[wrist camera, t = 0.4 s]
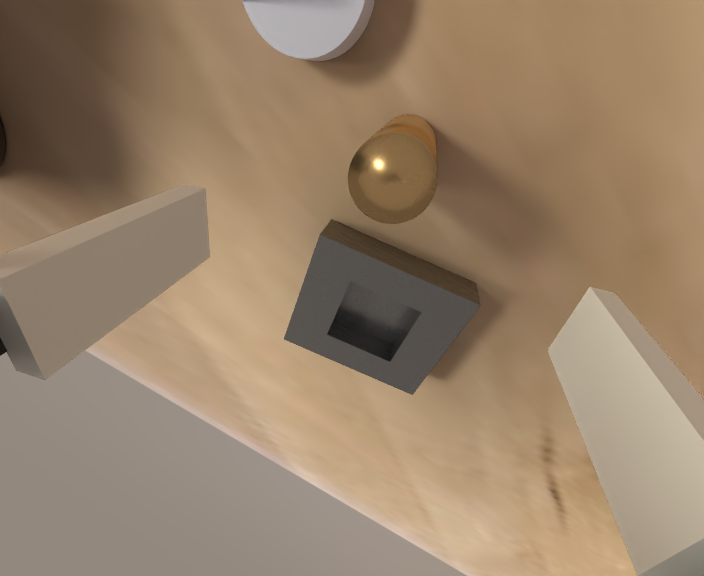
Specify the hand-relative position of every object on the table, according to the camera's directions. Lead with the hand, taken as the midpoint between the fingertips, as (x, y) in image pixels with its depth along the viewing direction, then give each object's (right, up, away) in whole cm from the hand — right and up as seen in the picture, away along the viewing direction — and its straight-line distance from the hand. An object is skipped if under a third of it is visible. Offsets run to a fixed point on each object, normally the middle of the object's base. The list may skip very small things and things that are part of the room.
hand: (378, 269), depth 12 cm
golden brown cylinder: (+4, +12, +17) cm, 21 cm away
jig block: (+2, -2, +26) cm, 26 cm away
